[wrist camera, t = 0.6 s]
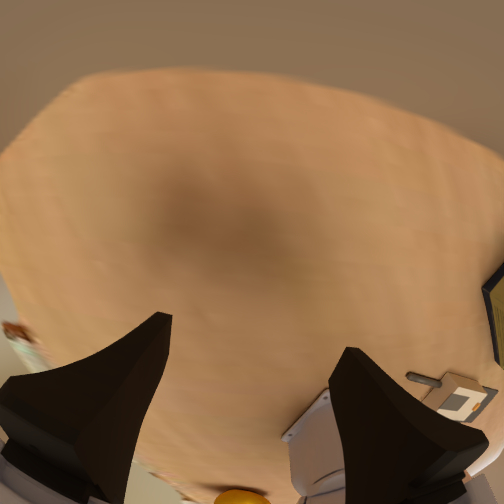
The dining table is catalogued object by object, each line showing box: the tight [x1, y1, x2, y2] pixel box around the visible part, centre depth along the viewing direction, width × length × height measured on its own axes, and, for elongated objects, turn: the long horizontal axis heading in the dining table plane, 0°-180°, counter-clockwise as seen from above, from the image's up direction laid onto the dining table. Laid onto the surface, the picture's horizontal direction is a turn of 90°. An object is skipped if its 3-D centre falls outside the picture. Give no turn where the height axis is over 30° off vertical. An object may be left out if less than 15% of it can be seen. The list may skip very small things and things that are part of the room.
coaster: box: [460, 386, 499, 423], centre depth 27 cm, size 7×7×1 cm
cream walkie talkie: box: [407, 372, 487, 421], centre depth 24 cm, size 5×15×3 cm, turn 65°
